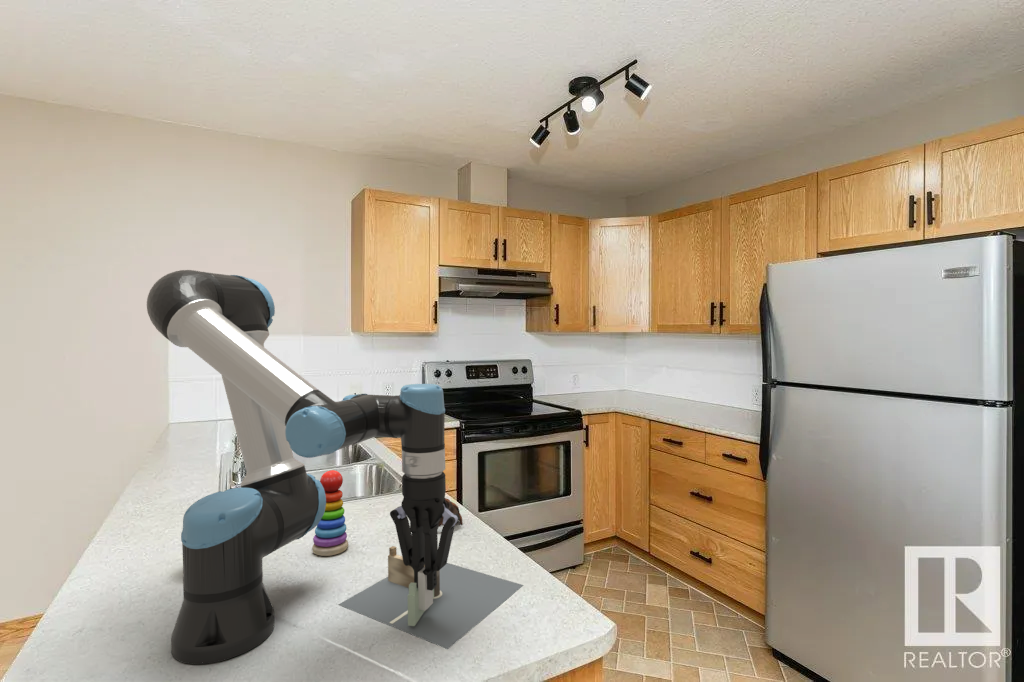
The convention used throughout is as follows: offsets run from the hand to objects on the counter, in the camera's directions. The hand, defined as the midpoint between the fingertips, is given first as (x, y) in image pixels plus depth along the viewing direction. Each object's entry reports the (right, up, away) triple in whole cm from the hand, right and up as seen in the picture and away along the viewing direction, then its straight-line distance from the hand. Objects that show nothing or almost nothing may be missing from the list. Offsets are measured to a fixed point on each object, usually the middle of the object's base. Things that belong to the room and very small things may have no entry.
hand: (425, 606), depth 90 cm
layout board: (0, -3, +9) cm, 9 cm away
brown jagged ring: (-3, -3, +46) cm, 46 cm away
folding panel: (-1, -2, +2) cm, 3 cm away
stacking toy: (-28, -3, +30) cm, 41 cm away
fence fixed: (-4, -2, +11) cm, 12 cm away
